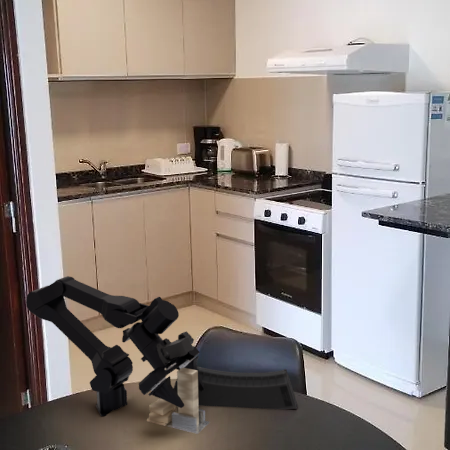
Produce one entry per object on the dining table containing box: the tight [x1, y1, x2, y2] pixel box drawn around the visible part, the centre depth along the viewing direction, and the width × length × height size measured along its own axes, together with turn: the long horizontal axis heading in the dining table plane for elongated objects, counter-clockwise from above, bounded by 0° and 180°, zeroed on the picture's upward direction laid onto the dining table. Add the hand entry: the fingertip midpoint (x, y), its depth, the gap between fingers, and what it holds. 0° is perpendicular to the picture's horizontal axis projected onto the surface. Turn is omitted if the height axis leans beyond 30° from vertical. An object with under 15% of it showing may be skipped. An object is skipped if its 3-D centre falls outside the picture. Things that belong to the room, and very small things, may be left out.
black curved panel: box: [173, 365, 298, 410], centre depth 159 cm, size 17×3×30 cm
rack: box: [167, 408, 211, 435], centre depth 150 cm, size 8×6×4 cm
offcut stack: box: [146, 398, 178, 427], centre depth 153 cm, size 5×6×4 cm
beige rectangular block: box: [176, 368, 200, 425], centre depth 149 cm, size 4×2×13 cm, turn 63°
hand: (193, 398), depth 149 cm, fingers open, 9 cm apart
